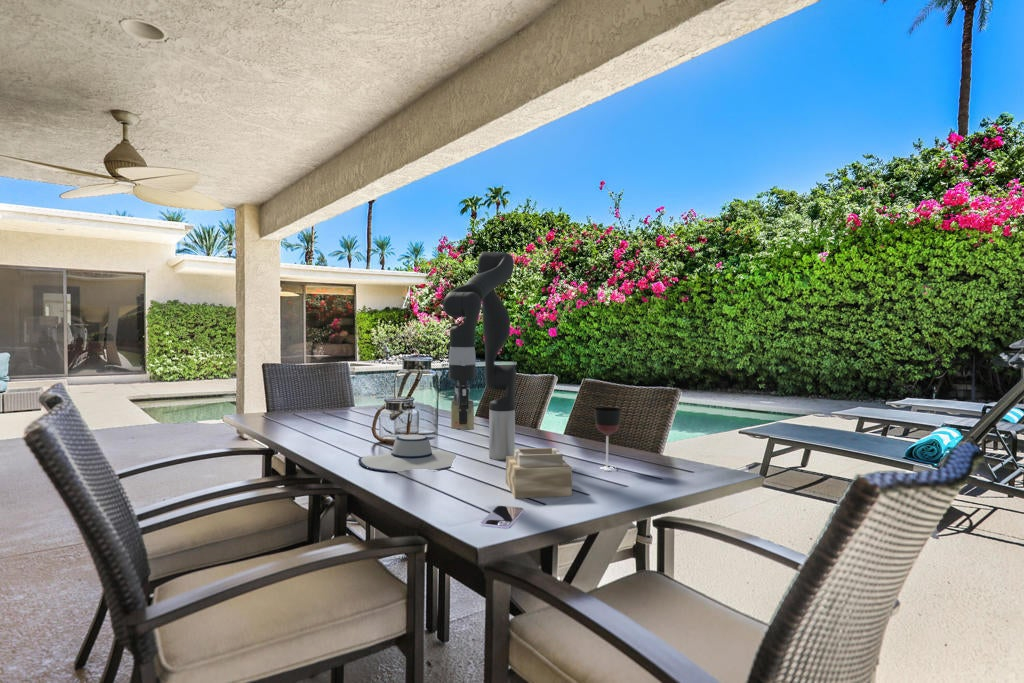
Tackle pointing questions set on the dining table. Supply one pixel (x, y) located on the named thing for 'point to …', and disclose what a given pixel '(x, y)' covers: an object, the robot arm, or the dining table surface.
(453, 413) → the lighter
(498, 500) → the dining table surface
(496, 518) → the mobile phone
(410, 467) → the sun hat
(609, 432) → the wineglass
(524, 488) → the holder stand
